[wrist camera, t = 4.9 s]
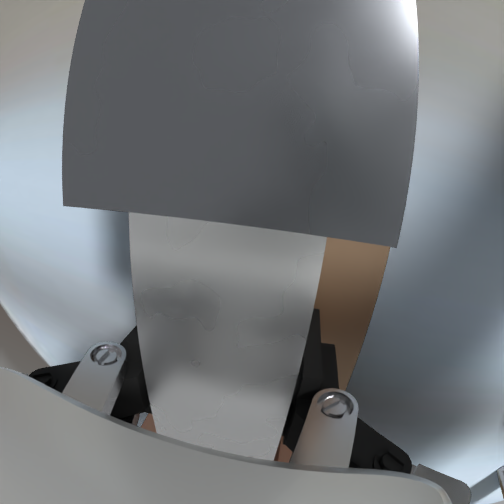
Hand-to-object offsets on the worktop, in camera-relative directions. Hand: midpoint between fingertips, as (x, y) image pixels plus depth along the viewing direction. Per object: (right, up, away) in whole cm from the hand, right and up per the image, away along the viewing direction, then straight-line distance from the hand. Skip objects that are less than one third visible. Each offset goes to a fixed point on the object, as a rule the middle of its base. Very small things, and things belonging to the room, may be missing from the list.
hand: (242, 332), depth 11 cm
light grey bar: (0, +3, -1) cm, 3 cm away
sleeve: (+1, +10, -3) cm, 11 cm away
